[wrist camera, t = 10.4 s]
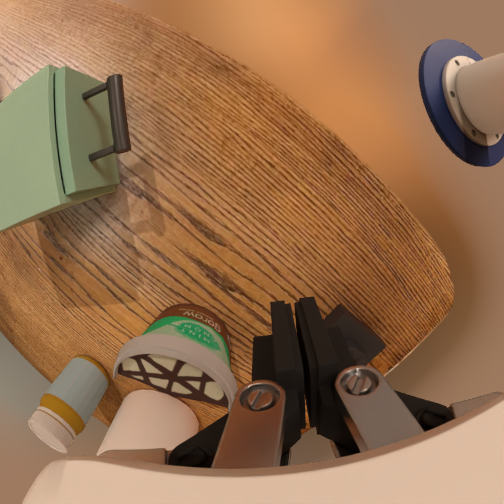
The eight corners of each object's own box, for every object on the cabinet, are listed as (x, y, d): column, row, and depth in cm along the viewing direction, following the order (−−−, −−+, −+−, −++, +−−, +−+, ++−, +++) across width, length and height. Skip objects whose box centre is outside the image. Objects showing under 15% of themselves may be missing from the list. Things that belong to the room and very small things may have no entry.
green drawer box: (102, 85, 22) (48, 63, 13) (116, 191, 26) (60, 204, 17) (25, 129, 23) (-27, 129, 14) (38, 219, 27) (-14, 238, 18)
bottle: (76, 375, 35) (33, 436, 20) (72, 346, 33) (19, 409, 18) (111, 393, 35) (74, 461, 21) (110, 364, 33) (63, 438, 19)
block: (339, 303, 29) (349, 322, 25) (379, 336, 30) (391, 355, 26) (279, 359, 31) (281, 382, 28) (323, 385, 33) (328, 406, 29)
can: (141, 374, 33) (86, 490, 14) (215, 416, 35) (196, 533, 16) (115, 408, 36) (72, 497, 17) (177, 442, 38) (154, 534, 19)
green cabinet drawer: (141, 69, 21) (104, 43, 14) (156, 173, 24) (117, 176, 17) (31, 126, 22) (-12, 124, 15) (42, 211, 26) (-1, 226, 18)
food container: (255, 311, 29) (253, 373, 20) (241, 353, 31) (234, 417, 22) (148, 279, 29) (105, 327, 19) (143, 324, 30) (108, 377, 21)
